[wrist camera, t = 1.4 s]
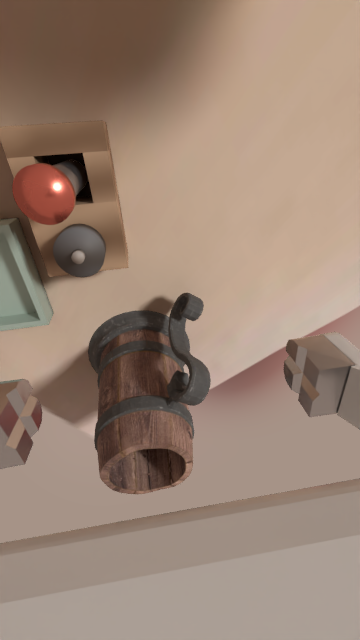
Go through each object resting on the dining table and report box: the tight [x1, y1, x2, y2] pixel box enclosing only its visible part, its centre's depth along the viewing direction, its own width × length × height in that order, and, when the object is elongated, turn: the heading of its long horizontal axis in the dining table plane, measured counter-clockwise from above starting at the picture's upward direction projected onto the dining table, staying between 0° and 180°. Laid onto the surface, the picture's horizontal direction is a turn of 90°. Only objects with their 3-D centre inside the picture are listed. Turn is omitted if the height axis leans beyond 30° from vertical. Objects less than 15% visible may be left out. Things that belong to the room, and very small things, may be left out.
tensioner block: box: [0, 120, 128, 277], centre depth 28 cm, size 14×9×8 cm, turn 4°
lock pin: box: [12, 160, 88, 225], centre depth 25 cm, size 4×4×13 cm
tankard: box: [88, 293, 210, 494], centre depth 37 cm, size 24×17×20 cm
